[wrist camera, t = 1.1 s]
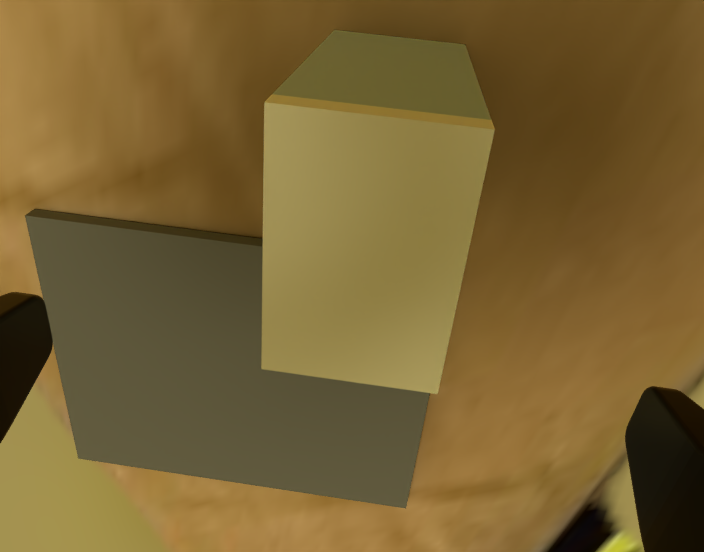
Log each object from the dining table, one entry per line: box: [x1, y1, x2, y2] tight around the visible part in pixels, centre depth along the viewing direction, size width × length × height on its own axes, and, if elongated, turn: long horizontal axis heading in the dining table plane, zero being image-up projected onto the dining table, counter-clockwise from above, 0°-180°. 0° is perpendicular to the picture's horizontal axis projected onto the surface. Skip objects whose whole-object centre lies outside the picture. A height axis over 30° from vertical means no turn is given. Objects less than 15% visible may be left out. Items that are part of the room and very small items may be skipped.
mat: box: [25, 209, 430, 508], centre depth 25 cm, size 16×13×1 cm
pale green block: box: [261, 30, 495, 394], centre depth 15 cm, size 4×6×9 cm, turn 175°
